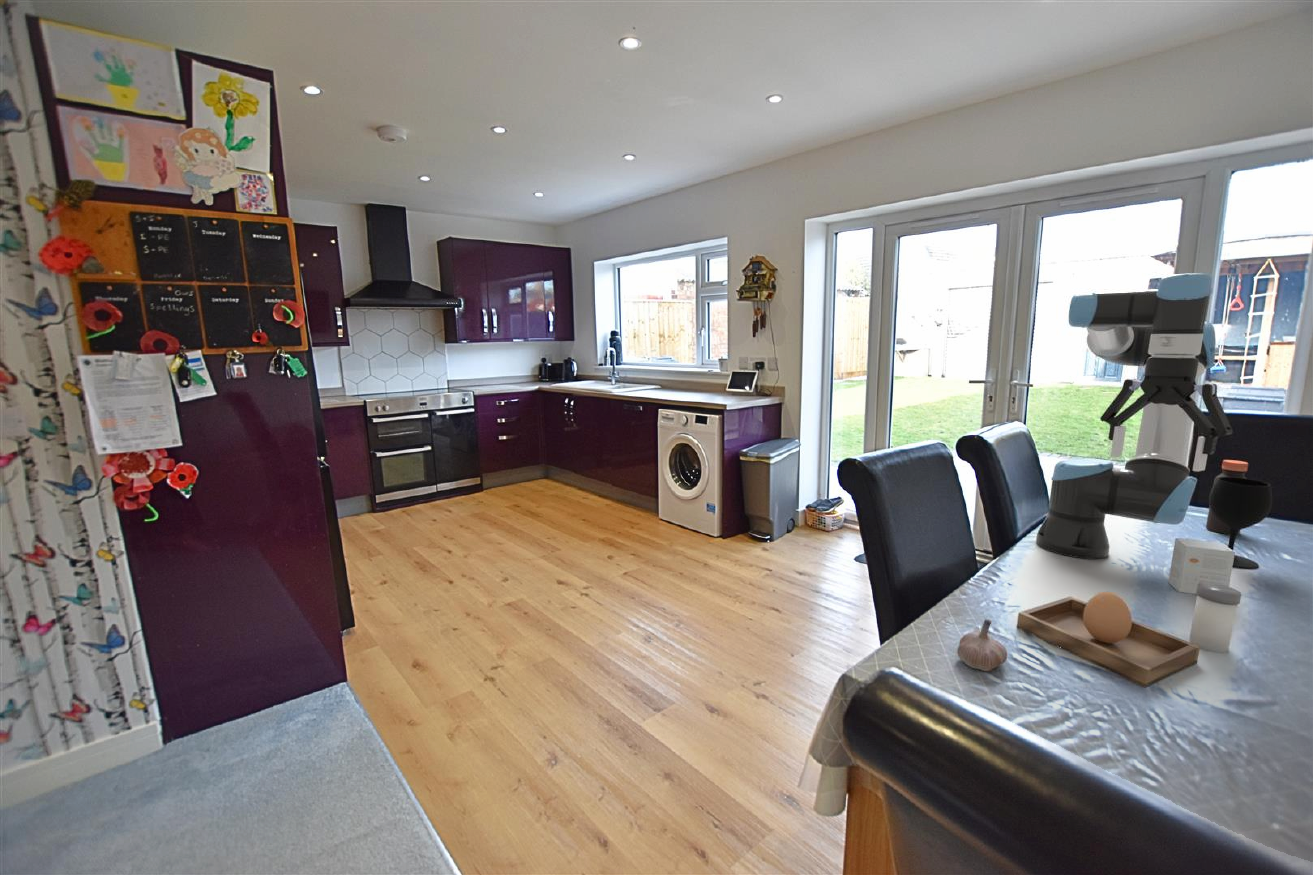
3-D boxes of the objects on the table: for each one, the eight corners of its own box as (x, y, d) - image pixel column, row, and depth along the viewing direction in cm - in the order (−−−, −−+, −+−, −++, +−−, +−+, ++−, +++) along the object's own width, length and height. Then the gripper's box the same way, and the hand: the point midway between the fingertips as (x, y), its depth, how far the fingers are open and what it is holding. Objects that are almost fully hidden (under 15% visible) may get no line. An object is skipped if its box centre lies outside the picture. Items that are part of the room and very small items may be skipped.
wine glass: (1211, 565, 133) (1227, 484, 130) (1190, 550, 143) (1204, 474, 139) (1269, 572, 129) (1287, 489, 126) (1243, 556, 139) (1259, 478, 135)
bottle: (1199, 526, 161) (1211, 458, 157) (1225, 527, 160) (1238, 459, 156) (1218, 534, 154) (1232, 464, 151) (1246, 535, 153) (1260, 464, 150)
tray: (1016, 627, 104) (1018, 612, 104) (1068, 610, 111) (1070, 596, 110) (1144, 687, 87) (1147, 669, 86) (1197, 662, 93) (1200, 646, 93)
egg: (1137, 649, 96) (1146, 600, 94) (1105, 653, 95) (1113, 603, 93) (1101, 629, 102) (1108, 583, 101) (1070, 633, 101) (1077, 586, 100)
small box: (1214, 588, 121) (1223, 542, 119) (1227, 599, 116) (1236, 551, 114) (1166, 581, 124) (1174, 536, 122) (1177, 592, 119) (1185, 545, 117)
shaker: (1181, 640, 100) (1191, 585, 98) (1196, 634, 102) (1206, 580, 100) (1221, 656, 95) (1232, 598, 93) (1236, 649, 97) (1247, 592, 95)
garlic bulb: (998, 654, 96) (1003, 611, 94) (1015, 679, 89) (1021, 633, 87) (950, 649, 97) (954, 606, 96) (963, 673, 90) (968, 627, 89)
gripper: (1089, 354, 118) (1076, 453, 122) (1251, 359, 95) (1229, 479, 99) (1110, 354, 121) (1096, 450, 125) (1271, 358, 99) (1248, 475, 102)
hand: (1155, 463), depth 112 cm, fingers open, 13 cm apart
